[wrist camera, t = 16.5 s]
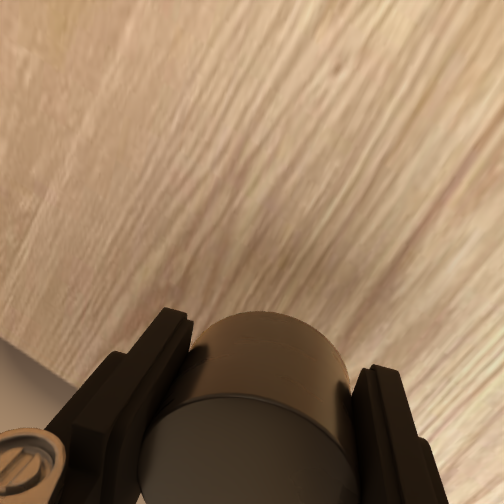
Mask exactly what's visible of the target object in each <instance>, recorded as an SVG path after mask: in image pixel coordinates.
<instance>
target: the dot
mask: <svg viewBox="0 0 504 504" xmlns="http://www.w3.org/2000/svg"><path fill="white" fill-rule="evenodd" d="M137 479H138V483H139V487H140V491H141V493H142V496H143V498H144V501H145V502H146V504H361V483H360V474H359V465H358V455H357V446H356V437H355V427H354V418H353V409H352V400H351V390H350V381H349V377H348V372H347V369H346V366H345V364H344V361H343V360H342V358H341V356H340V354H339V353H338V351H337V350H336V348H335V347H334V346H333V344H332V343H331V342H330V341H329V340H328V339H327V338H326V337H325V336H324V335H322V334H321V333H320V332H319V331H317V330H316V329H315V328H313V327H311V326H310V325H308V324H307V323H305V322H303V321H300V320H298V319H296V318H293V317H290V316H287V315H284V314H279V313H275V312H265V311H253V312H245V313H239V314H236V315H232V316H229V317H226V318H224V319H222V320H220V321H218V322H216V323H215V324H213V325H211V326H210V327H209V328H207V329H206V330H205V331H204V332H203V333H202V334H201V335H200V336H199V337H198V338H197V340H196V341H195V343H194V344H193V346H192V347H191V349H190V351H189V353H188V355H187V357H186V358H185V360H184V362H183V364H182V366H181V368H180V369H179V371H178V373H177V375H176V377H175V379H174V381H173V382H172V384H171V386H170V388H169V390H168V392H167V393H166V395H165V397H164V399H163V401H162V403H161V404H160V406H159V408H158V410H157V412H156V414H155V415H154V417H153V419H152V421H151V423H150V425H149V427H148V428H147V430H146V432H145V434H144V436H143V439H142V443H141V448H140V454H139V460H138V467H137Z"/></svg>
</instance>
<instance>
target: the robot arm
mask: <svg viewBox="0 0 504 504" xmlns="http://www.w3.org/2000/svg"><path fill="white" fill-rule="evenodd" d="M193 326H194V322H193V321H191V320H187V313H185V312H181V311H177V310H174V309H170V308H166V307H164V308H163V309H162V310H161V312H160V313H159V314H158V315H157V317H156V318H155V319H154V321H153V322H152V323H151V324H150V326H149V327H148V328H147V329H146V331H145V332H144V333H143V334H142V336H141V337H140V338H139V339H138V341H137V342H136V343H135V344H134V346H133V347H132V348H131V350H130V351H129V352H128V353H127V354H125V353H121V352H118V351H113V352H111V353H110V354H109V355H108V356H107V357H106V358H105V360H104V361H103V362H102V363H101V364H100V365H99V366H98V368H97V369H96V370H95V371H94V372H93V373H92V375H91V376H90V377H89V378H88V379H87V380H86V381H85V383H84V384H83V385H82V386H81V387H80V388H79V390H78V391H77V392H76V393H75V394H74V395H73V397H72V398H71V399H70V400H69V401H68V402H67V403H66V405H65V406H64V407H63V408H62V410H60V412H59V413H58V414H57V415H56V416H55V417H54V418H53V420H52V421H51V422H50V423H49V424H48V425H47V427H46V428H45V429H44V430H42V429H38V428H18V429H13V430H8V431H5V432H2V433H0V504H136V502H137V500H138V498H139V495H140V493H141V491H140V487H139V483H138V479H137V467H138V460H139V454H140V448H141V443H142V439H143V436H144V434H145V432H146V430H147V428H148V427H149V425H150V423H151V421H152V419H153V417H154V415H155V414H156V412H157V410H158V408H159V406H160V404H161V403H162V401H163V399H164V397H165V395H166V393H167V392H168V390H169V388H170V386H171V384H172V382H173V381H174V379H175V377H176V375H177V373H178V371H179V369H180V368H181V366H182V364H183V362H184V360H185V358H186V357H187V355H188V353H189V347H190V342H191V337H192V331H193ZM351 400H352V409H353V418H354V427H355V437H356V446H357V455H358V465H359V474H360V483H361V504H449V503H448V500H447V497H446V494H445V490H444V487H443V484H442V481H441V478H440V475H439V472H438V469H437V466H436V463H435V460H434V457H433V454H432V451H431V447H430V445H429V443H428V441H426V440H425V439H424V438H421V437H418V434H417V431H416V428H415V424H414V421H413V418H412V414H411V411H410V407H409V404H408V401H407V397H406V394H405V391H404V387H403V384H402V381H401V377H400V374H399V372H398V371H397V370H393V369H390V368H386V367H382V366H379V365H375V364H373V365H372V366H371V367H370V369H366V368H363V369H362V370H361V372H360V374H359V377H358V380H357V383H356V385H355V388H354V391H353V393H352V396H351Z"/></svg>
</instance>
